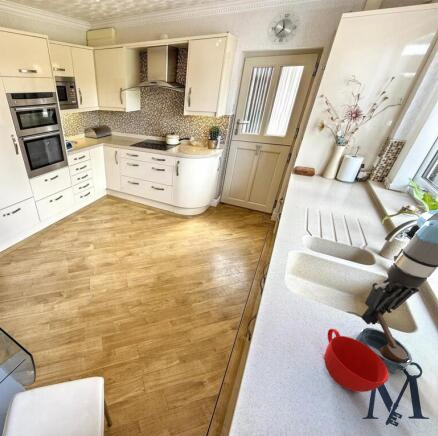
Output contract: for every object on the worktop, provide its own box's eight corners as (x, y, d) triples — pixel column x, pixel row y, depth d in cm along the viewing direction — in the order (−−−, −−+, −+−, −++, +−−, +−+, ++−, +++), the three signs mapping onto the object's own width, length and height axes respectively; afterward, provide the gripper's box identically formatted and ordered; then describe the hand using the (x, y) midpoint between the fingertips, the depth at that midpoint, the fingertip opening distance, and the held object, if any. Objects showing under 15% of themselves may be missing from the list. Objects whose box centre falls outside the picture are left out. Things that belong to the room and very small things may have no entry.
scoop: (403, 364, 71) (424, 352, 66) (388, 364, 71) (409, 351, 66) (364, 315, 84) (380, 302, 79) (351, 315, 84) (366, 302, 78)
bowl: (378, 336, 82) (386, 328, 80) (413, 373, 72) (423, 365, 69) (346, 335, 81) (352, 327, 79) (376, 373, 71) (384, 365, 69)
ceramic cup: (340, 344, 78) (355, 326, 73) (380, 404, 64) (402, 386, 59) (301, 340, 79) (313, 322, 74) (332, 399, 64) (350, 380, 59)
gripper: (420, 261, 72) (377, 311, 84) (376, 260, 71) (339, 311, 83) (447, 279, 65) (397, 331, 77) (399, 278, 65) (356, 330, 77)
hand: (367, 320), depth 80 cm, fingers closed on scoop
